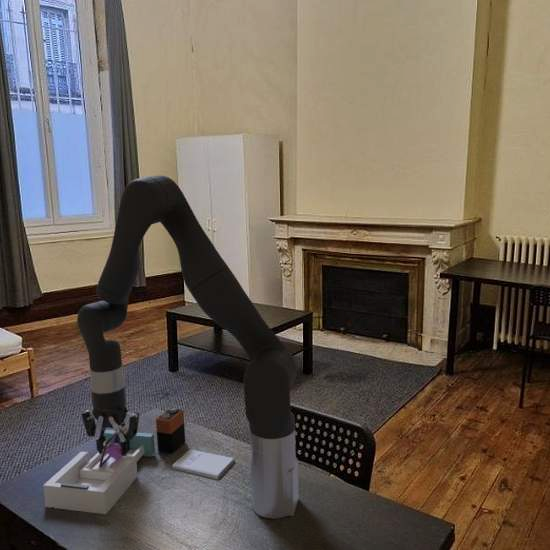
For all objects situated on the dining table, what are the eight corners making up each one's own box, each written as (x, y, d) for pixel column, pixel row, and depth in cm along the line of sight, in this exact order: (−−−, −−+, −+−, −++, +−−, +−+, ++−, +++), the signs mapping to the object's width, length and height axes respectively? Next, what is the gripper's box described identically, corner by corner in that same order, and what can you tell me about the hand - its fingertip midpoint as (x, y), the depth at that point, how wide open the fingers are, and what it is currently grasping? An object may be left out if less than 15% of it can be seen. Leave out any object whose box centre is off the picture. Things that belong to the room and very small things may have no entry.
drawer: (155, 453, 129) (153, 433, 128) (127, 485, 116) (125, 464, 115) (105, 448, 132) (103, 429, 131) (72, 479, 119) (70, 458, 118)
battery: (186, 442, 135) (184, 406, 133) (172, 455, 129) (169, 417, 127) (171, 439, 137) (169, 404, 135) (157, 452, 131) (154, 415, 129)
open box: (137, 476, 120) (135, 455, 119) (105, 514, 107) (103, 490, 106) (83, 470, 123) (81, 449, 122) (45, 506, 110) (42, 483, 109)
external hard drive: (217, 481, 118) (172, 470, 123) (234, 463, 126) (191, 454, 131) (217, 475, 118) (171, 464, 123) (234, 457, 125) (190, 448, 130)
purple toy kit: (119, 423, 128) (102, 441, 119) (139, 430, 128) (123, 449, 119) (113, 446, 129) (95, 466, 121) (132, 454, 129) (116, 474, 120)
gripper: (143, 381, 122) (148, 447, 125) (88, 377, 125) (95, 443, 128) (128, 394, 115) (134, 464, 118) (70, 390, 118) (77, 458, 121)
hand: (113, 452), depth 123 cm, fingers open, 5 cm apart
